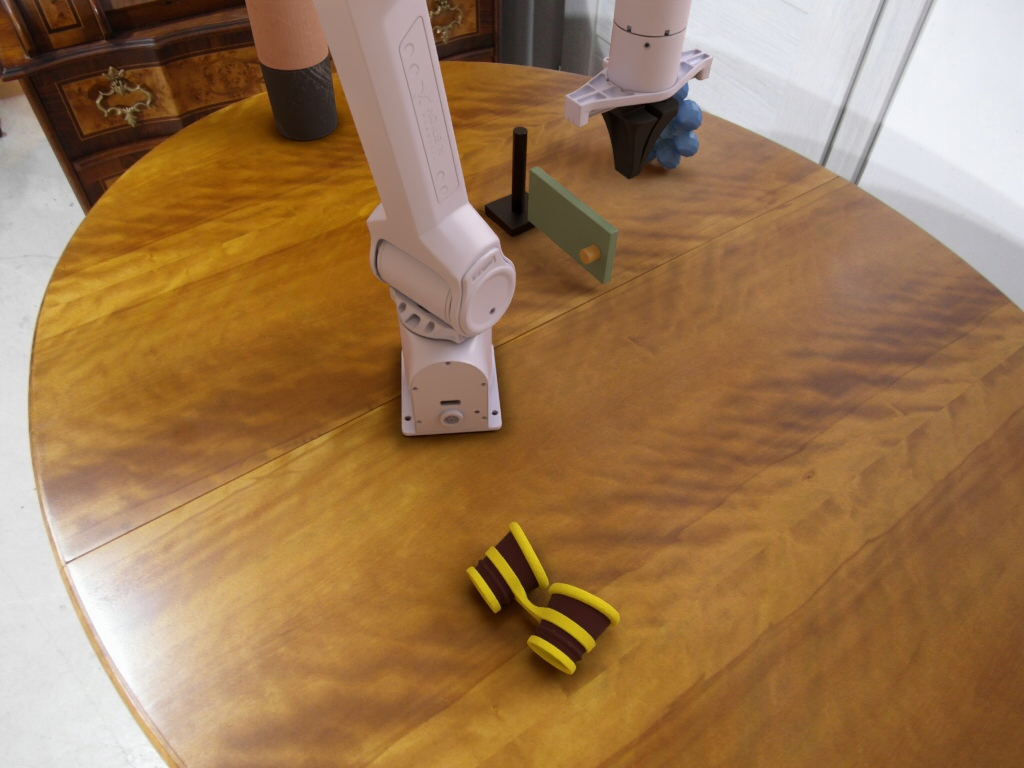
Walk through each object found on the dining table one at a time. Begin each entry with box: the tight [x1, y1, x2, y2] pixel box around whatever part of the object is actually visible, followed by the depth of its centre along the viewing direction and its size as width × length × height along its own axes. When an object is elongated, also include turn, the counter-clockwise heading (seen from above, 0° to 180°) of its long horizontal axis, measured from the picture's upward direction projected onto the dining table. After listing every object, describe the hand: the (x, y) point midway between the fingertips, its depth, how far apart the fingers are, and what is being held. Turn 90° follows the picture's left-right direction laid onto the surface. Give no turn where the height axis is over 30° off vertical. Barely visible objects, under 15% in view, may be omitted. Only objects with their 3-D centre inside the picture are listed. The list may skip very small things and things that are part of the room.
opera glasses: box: [465, 521, 621, 676], centre depth 51 cm, size 10×5×5 cm, turn 45°
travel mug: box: [244, 0, 338, 142], centre depth 84 cm, size 8×8×20 cm
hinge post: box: [484, 126, 536, 238], centre depth 77 cm, size 5×5×10 cm
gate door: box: [528, 166, 619, 286], centre depth 73 cm, size 12×2×6 cm, turn 36°
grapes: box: [646, 81, 703, 170], centre depth 83 cm, size 12×7×12 cm, turn 54°
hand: (627, 172), depth 70 cm, fingers closed
